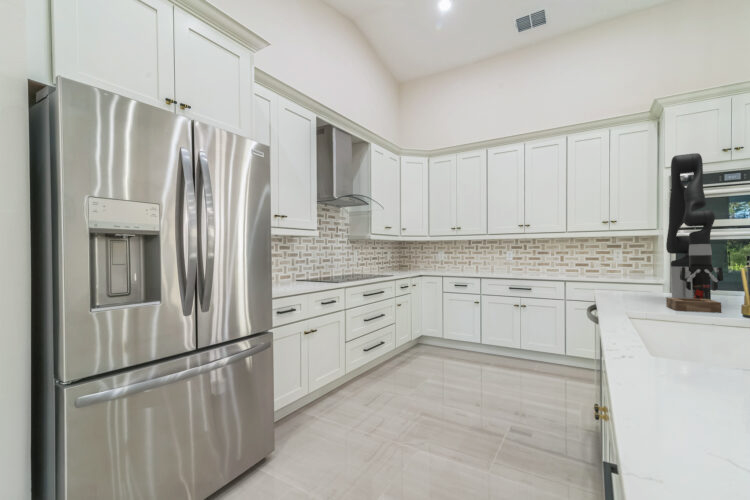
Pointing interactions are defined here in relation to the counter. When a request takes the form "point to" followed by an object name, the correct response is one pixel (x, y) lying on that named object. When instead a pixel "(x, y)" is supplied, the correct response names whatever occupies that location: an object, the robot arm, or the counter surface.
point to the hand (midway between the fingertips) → (701, 290)
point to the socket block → (693, 305)
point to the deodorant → (701, 286)
